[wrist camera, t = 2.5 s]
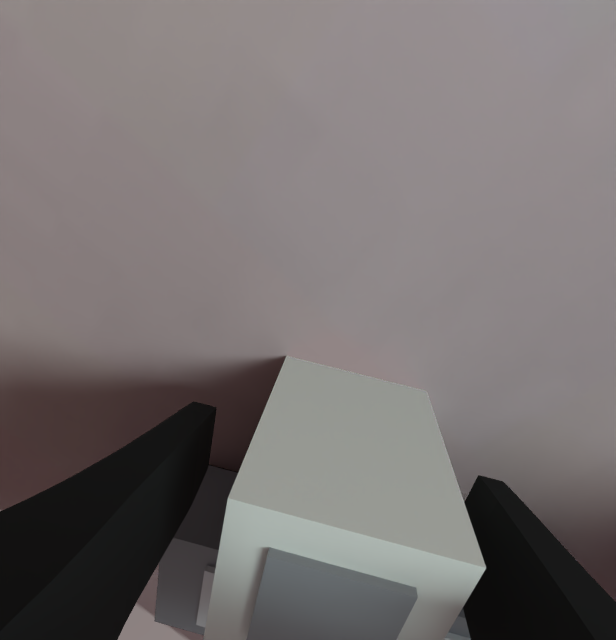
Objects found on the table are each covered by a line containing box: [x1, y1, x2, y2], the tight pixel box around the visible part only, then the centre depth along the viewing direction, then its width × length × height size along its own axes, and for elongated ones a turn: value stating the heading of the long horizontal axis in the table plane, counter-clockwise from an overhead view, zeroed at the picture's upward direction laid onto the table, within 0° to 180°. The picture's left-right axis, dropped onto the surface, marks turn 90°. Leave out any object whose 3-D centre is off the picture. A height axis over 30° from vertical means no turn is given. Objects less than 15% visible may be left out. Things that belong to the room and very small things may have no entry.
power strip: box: [155, 465, 471, 640], centre depth 11 cm, size 15×4×3 cm, turn 78°
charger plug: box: [203, 356, 486, 640], centre depth 8 cm, size 4×4×5 cm
